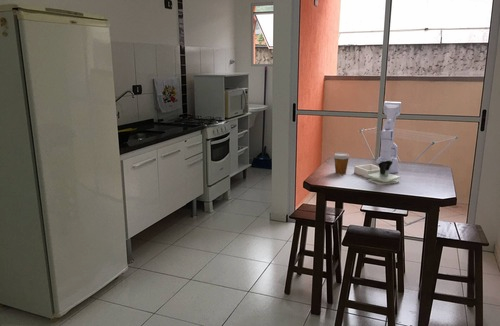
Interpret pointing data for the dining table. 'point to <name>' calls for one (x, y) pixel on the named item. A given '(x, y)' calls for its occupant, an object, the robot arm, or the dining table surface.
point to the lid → (383, 176)
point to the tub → (366, 170)
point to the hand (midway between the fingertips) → (384, 173)
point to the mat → (382, 182)
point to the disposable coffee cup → (341, 162)
